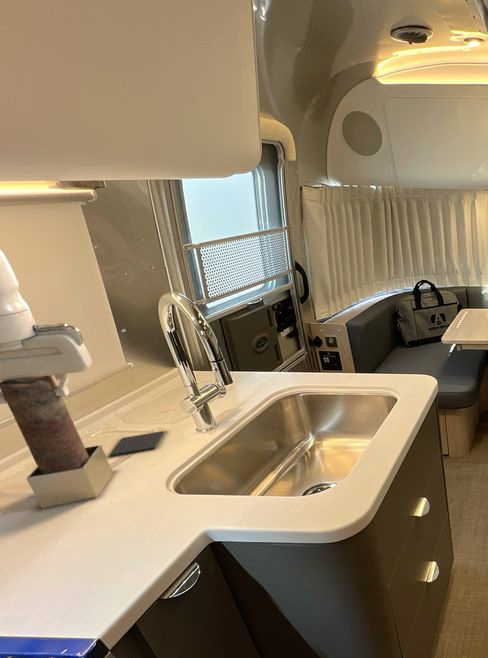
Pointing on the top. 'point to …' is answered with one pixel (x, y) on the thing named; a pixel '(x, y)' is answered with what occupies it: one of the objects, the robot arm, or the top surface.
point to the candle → (45, 424)
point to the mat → (137, 443)
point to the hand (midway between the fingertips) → (34, 399)
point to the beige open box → (72, 481)
